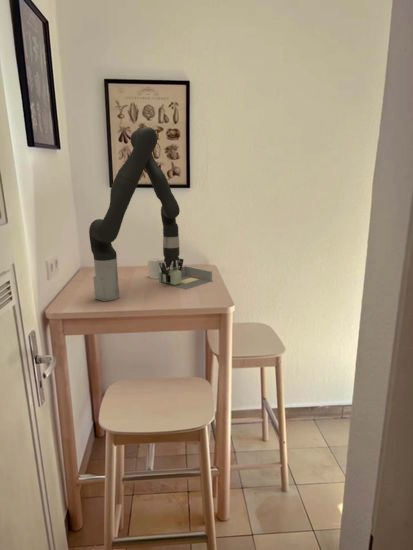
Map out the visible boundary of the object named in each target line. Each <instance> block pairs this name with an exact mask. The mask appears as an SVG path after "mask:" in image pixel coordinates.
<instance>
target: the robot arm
mask: <svg viewBox="0 0 413 550" xmlns="http://www.w3.org/2000/svg"><path fill="white" fill-rule="evenodd" d="M129 139H130V144H131V147H132V150H131V153H130V154H129V156H128V158H127V159H126V161H124V163H123V164H122V165H121V167H120V168H119V170H118V172H117V173H116V175H115V177H114V180H113V182H112V184H111V188H110V195H109V196H110V197H109V206H108V208H107V212H106V213H105V216H104V217H103V218H100V219H99V218H97V219H94V220H93V221H92V222H91V223H90V225H89V230H88V233H89V236H88V237H89V242H90V244H89V245H90V250H91V253H92V255H93V263H94V275H95V276H94V277H93V286H94V287H93V289H94V298H95V300H98V301H102V302H107V301H108V302H109V301H115V300H117V299H119V298H120V286H119V270H118V257H117V256H118V255H117V251H116V250H115V248H114V247H113V244H112V243H113V242H114V241H115V240H116V239H117V237H118V236H119V232H120V230H121V227H122V223H123V221H124V216H125V215H126V212H127V209H128V208H129V205H130V202H131V201H132V198H133V195H134V193H135V191H136V190H137V187H138V185H139V181H140V179H141V177H142V174H143V172H144V170H145V172H146V174H147V176H148V178H149V181H150V183H151V186H152V189H153V191H154V193H155V196H156V198H157V199H158V200H159V201H160V204H161V207H160V216H161V222H162V226H163V227H162V234H163V235H162V237H163V238H162V255H163V257H164V258H163V262H162V263H159V265H160V268H161V272H162V274H165V275H166V282H167V283H171V277H170V273H171V272H170V271H172V269H175V270H180V271H181V270H182V266H184V259H183V258H180V238H179V236H180V235H179V234H180V233H179V225H178V223H177V219H176V218H177V217H178V216H180V211H181V210H180V205H179V204H178V201H177V199H176V198H175V196H174V194H173V192H172V189H171V187H170V184H169V181H168V179H167V177H166V175H165V173H164V171H163V170H162V169H161V167H160V166H159V164H158V162H157V161H156V159H155V157H154V155H153V151H154V150H155V148H156V147H157V144H158V134H157V132H156V130H155V129H154V128H152V127H150V126H143V127H140V128H138V129H136V130H134V131H133V132H132V133H131V135H130V138H129ZM179 267H180V268H179Z"/></svg>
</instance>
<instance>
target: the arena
mask: <svg viewBox="0 0 413 550" xmlns="http://www.w3.org/2000/svg"><path fill="white" fill-rule="evenodd" d="M179 268H180V266H179ZM211 282H213V270H210V269H204V268H199V267H194V266H189V265H182V270H181V283H180V284H177V285H173V284H169V283H166V282H163V274H162V272H159V278H158V283H159V284H162V285H163V284H164V285H167V286H171V287H176V288H178V289H182V290H186V291H187V290H190V289H192V288H195V287H198V286H201V285H205V284H207V283H211Z"/></svg>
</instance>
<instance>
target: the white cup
mask: <svg viewBox="0 0 413 550" xmlns="http://www.w3.org/2000/svg"><path fill="white" fill-rule="evenodd" d="M162 262H164V258H163V257H150V258H147V268H148V270H147V271H148V275H149V276H148V277H149V278H150V279H153V280H154V279H155V280H156V279H158V280H159V272H161V268H160V265H159V263H162Z"/></svg>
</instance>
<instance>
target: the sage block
mask: <svg viewBox="0 0 413 550" xmlns="http://www.w3.org/2000/svg"><path fill="white" fill-rule="evenodd" d="M170 272H171V273H170V277H171V283H169V284H173V285H177V284H180V283H181V271H180V270H175V269H173V268H172V271H170ZM163 282H166V275H165V274H163ZM166 283H167V282H166Z"/></svg>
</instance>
